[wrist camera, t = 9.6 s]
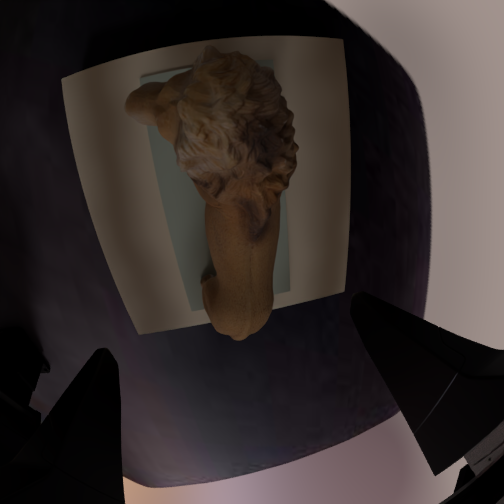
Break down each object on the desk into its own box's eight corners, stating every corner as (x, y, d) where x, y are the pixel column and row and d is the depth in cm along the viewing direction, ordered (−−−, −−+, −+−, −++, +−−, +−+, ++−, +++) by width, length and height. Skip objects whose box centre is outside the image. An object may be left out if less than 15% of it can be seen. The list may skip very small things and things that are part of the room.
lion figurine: (148, 86, 12) (92, 62, 4) (249, 66, 13) (323, 24, 5) (208, 311, 20) (226, 427, 12) (282, 292, 20) (332, 397, 12)
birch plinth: (142, 309, 22) (138, 336, 20) (79, 81, 13) (59, 78, 11) (328, 271, 24) (345, 292, 22) (321, 46, 15) (344, 38, 13)
